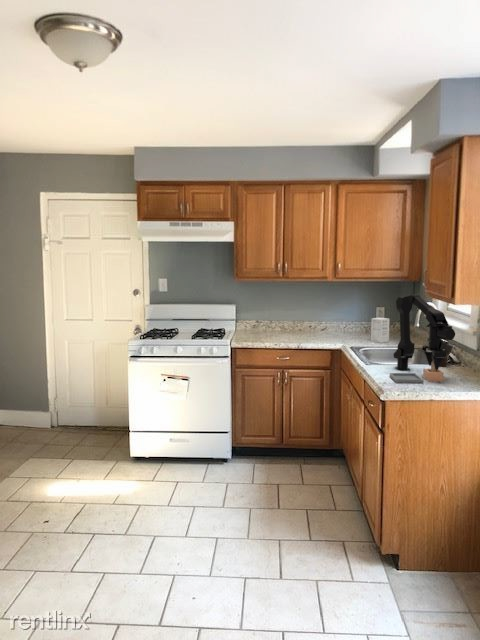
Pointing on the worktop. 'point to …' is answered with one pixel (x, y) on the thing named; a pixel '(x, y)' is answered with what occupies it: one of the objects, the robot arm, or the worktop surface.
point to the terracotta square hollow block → (433, 375)
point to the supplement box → (380, 330)
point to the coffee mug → (444, 360)
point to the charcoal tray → (406, 378)
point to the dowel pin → (433, 367)
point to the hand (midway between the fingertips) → (433, 367)
